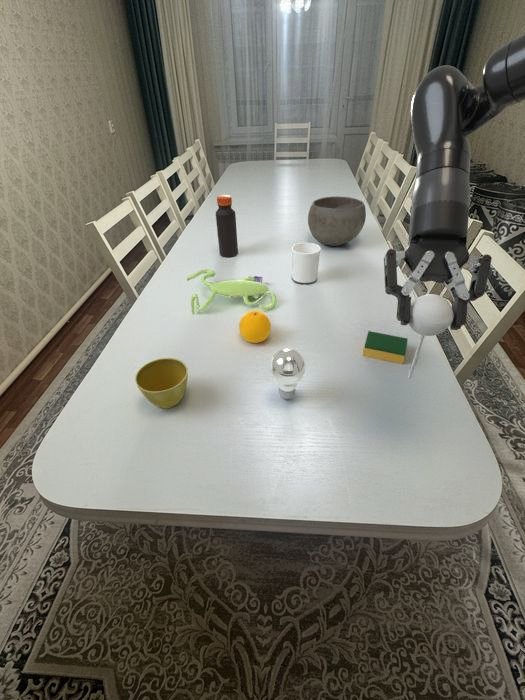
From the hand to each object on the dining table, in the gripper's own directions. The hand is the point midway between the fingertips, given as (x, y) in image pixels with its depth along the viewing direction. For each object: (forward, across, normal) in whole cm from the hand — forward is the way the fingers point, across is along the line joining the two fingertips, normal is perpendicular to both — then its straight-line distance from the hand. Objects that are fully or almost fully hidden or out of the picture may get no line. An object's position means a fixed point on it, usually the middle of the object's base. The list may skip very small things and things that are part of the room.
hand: (430, 326), depth 50 cm
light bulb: (+13, -20, +23) cm, 34 cm away
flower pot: (+16, -45, +20) cm, 52 cm away
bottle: (-35, -52, +72) cm, 95 cm away
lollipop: (+7, 0, +9) cm, 12 cm away
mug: (-25, -22, +62) cm, 70 cm away
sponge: (0, 0, +36) cm, 36 cm away
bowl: (-47, -14, +84) cm, 97 cm away
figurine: (-14, -43, +50) cm, 67 cm away
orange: (-1, -31, +37) cm, 48 cm away
